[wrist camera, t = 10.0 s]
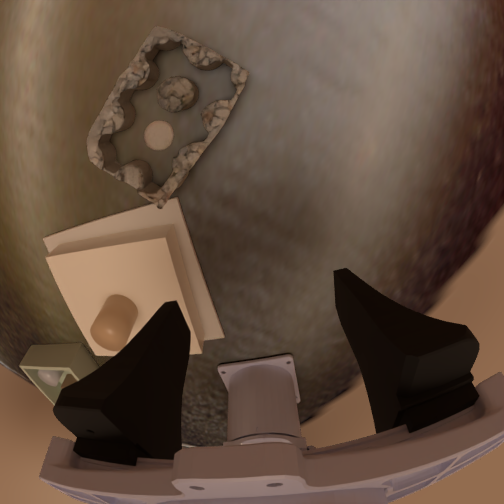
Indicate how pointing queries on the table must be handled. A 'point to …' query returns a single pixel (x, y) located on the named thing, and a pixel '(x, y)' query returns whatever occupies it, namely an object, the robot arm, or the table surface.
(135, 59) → the rocky grey tray
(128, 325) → the lid
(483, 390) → the robot arm
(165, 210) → the mat
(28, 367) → the storage box
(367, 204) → the table surface
